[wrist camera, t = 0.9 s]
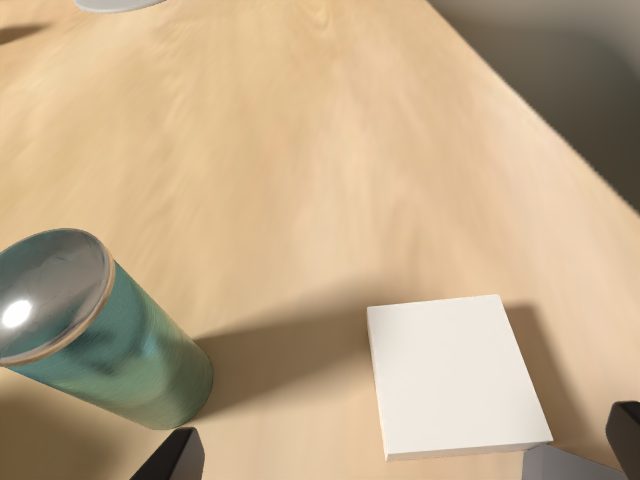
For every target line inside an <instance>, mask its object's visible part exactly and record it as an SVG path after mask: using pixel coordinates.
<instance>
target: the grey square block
mask: <svg viewBox="0 0 640 480" xmlns="http://www.w3.org/2000/svg"><path fill="white" fill-rule="evenodd" d="M522 480H628V479H627V477H626V475H625V473H624V472H621V471H618V470H616V469H613V468H610V467H607V466H605V465H602V464H599V463H596V462H594V461H591V460H588V459H585V458H583V457H580V456H577V455H574V454H572V453H569V452H566V451H563V450H561V449H558V448H555V447H552V446H550V445H547V444H542V445H540V446H538V447H535V448H533V449H531V450H529V451H526V452H524V459H523V470H522Z"/></svg>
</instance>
